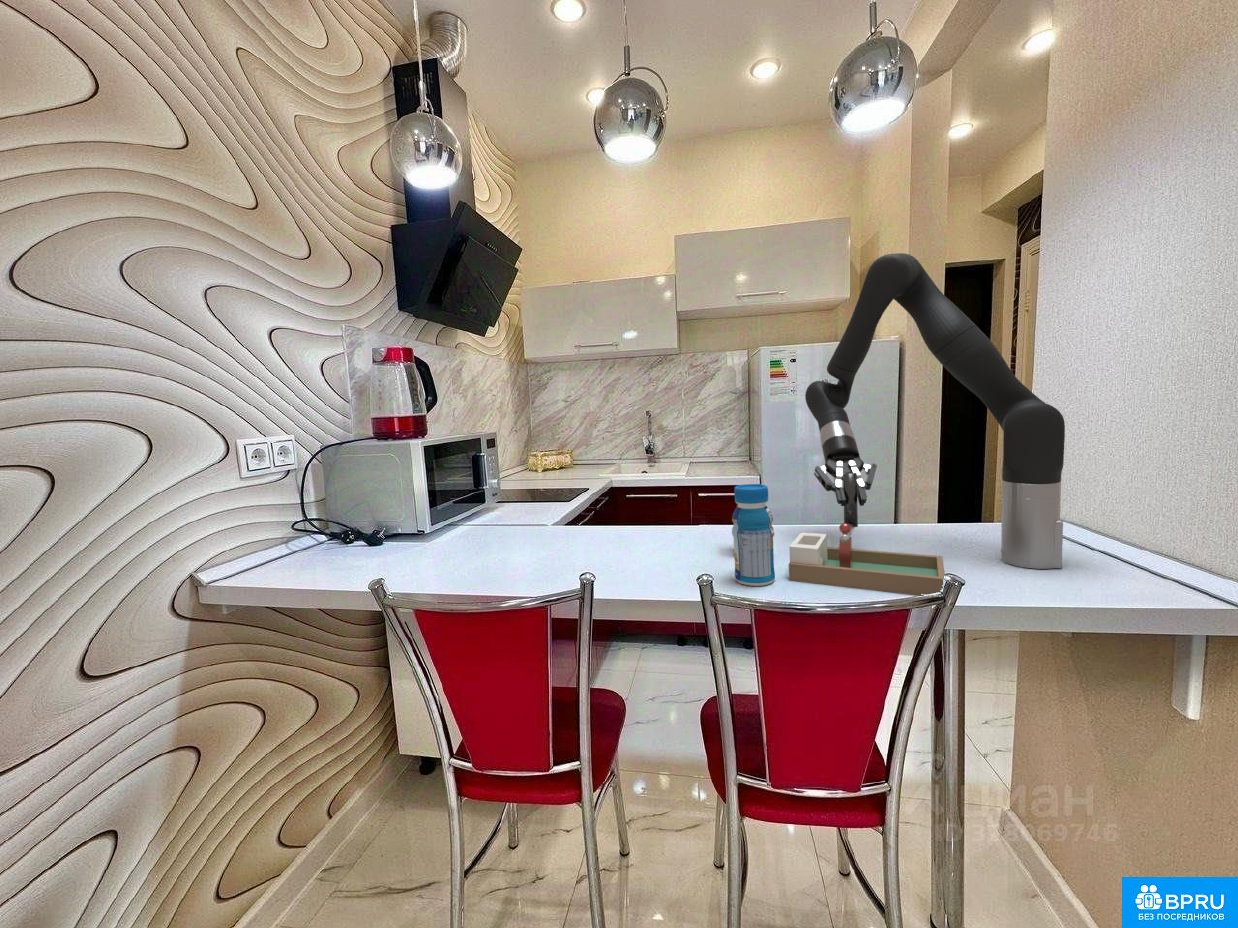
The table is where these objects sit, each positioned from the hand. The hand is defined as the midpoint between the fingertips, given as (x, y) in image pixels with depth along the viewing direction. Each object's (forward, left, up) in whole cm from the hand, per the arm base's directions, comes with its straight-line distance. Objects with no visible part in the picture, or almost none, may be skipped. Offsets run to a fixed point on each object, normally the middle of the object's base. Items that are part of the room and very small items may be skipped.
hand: (853, 503), depth 107 cm
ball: (+7, +8, -11) cm, 16 cm away
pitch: (-3, +8, -13) cm, 16 cm away
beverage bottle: (+17, +18, -14) cm, 28 cm away
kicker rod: (+1, +3, -12) cm, 13 cm away
